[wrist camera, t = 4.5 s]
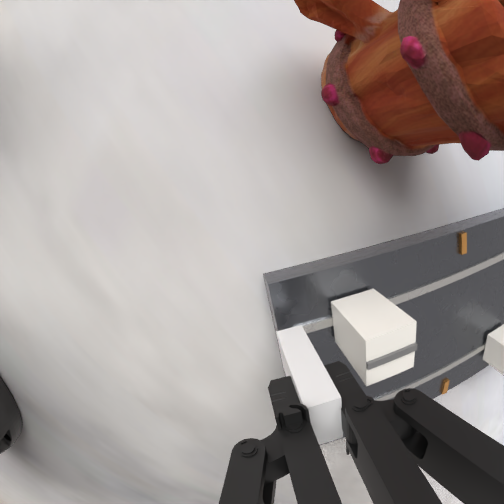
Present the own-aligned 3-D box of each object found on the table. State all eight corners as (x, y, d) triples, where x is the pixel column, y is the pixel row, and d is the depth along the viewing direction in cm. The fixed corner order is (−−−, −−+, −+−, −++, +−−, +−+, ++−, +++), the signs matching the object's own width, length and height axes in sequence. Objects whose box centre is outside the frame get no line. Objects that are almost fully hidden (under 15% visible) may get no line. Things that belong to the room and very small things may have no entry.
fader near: (335, 341, 19) (368, 388, 14) (330, 301, 18) (367, 342, 13) (375, 328, 19) (415, 368, 14) (373, 288, 18) (418, 323, 13)
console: (297, 435, 23) (303, 452, 21) (263, 273, 19) (268, 286, 17) (501, 341, 25) (513, 349, 23) (514, 205, 21) (530, 208, 19)
